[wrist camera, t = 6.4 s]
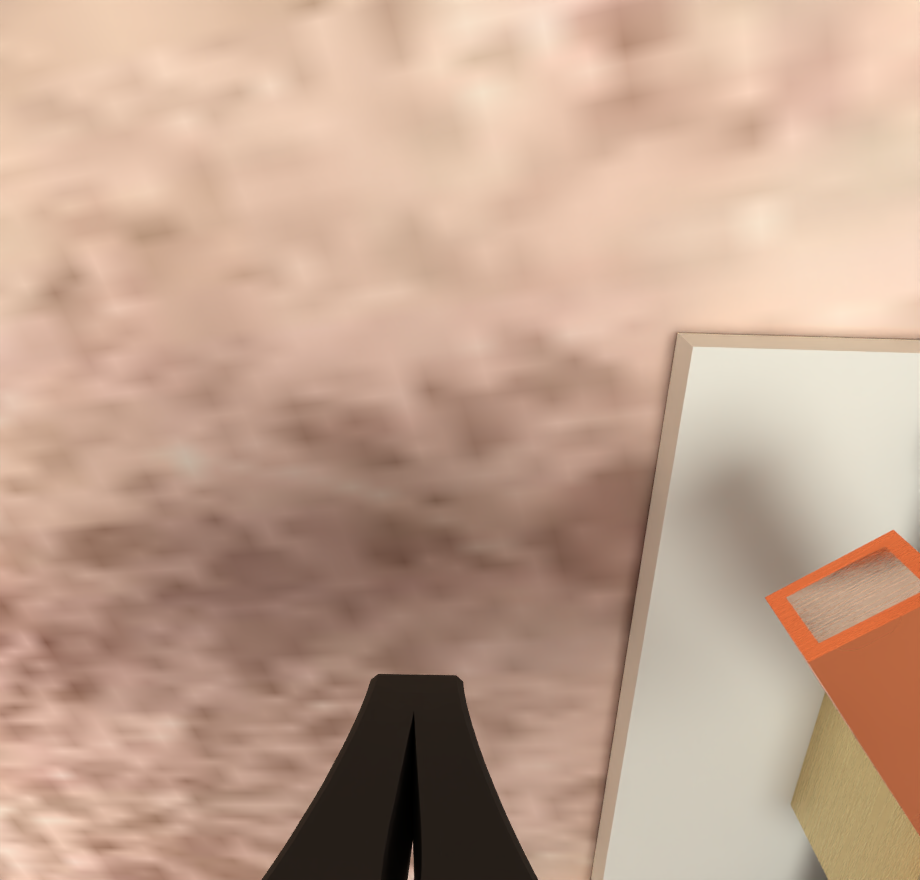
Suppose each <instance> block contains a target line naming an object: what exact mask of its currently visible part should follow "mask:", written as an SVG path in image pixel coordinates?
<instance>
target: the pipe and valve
mask: <svg viewBox="0 0 920 880" xmlns="http://www.w3.org/2000/svg"><path fill="white" fill-rule="evenodd" d="M791 807H792V809H793V811H794V813H795V815H796V817H797V819H798V821H799V823H800V825H801V827H802V829H803V831H804V833H805V835H806V837H807V838H808V840H809V842H810V844H811V846H812V848H813V850H814V852H815V854H816V856H817V858H818V860H819V862H820V864H821V866H822V868H823V870H824V872H825V874H826V876H827V878H828V880H920V836H919V835H918V833H917V832H916V830H915V829H914V827H913V826H912V824H911V823H910V821H909V820H908V818H907V817H906V815H905V813H904V812H903V810H902V809H901V807H900V806H899V804H898V803H897V801H896V800H895V798H894V797H893V795H892V794H891V792H890V791H889V789H888V788H887V786H886V785H885V783H884V782H883V780H882V779H881V777H880V776H879V774H878V773H877V771H876V770H875V768H874V767H873V765H872V763H871V762H870V760H869V759H868V757H867V756H866V754H865V753H864V751H863V749H862V748H861V746H860V745H859V743H858V742H857V740H856V739H855V737H854V736H853V734H852V732H851V731H850V729H849V728H848V726H847V725H846V723H845V722H844V720H843V718H842V717H841V715H840V714H839V712H838V711H837V709H836V708H835V706H834V704H833V703H832V701H831V700H830V698H829V697H828V695H827V694H826V692H825V694H824V697H823V700H822V704H821V707H820V710H819V713H818V717H817V720H816V723H815V726H814V730H813V733H812V736H811V739H810V743H809V746H808V749H807V753H806V756H805V759H804V762H803V766H802V769H801V772H800V775H799V779H798V782H797V785H796V788H795V792H794V795H793V798H792V801H791Z"/></svg>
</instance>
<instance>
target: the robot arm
mask: <svg viewBox="0 0 920 880" xmlns="http://www.w3.org/2000/svg"><path fill="white" fill-rule="evenodd" d="M412 842H413V855H414V880H538V879H537V877H536V875H535V873H534V871H533V869H532V867H531V865H530V863H529V861H528V859H527V857H526V855H525V853H524V851H523V849H522V847H521V845H520V843H519V841H518V839H517V837H516V835H515V832H514V830H513V828H512V826H511V824H510V822H509V820H508V817H507V815H506V813H505V811H504V808H503V806H502V804H501V802H500V799H499V797H498V794H497V792H496V789H495V787H494V784H493V782H492V779H491V777H490V774H489V772H488V769H487V767H486V764H485V762H484V759H483V756H482V753H481V751H480V748H479V745H478V742H477V739H476V736H475V732H474V729H473V726H472V723H471V719H470V716H469V712H468V708H467V703H466V698H465V693H464V687H463V681H462V680H461V679H460V678H458V677H457V676H455V675H399V674H378V675H376V676H375V677H374V678H373V679H371V681H370V684H369V688H368V691H367V693H366V696H365V699H364V701H363V704H362V706H361V709H360V711H359V713H358V716H357V718H356V720H355V722H354V724H353V727H352V729H351V731H350V733H349V735H348V737H347V739H346V741H345V743H344V745H343V747H342V749H341V751H340V753H339V755H338V756H337V758H336V760H335V762H334V764H333V766H332V768H331V769H330V771H329V773H328V775H327V777H326V779H325V781H324V782H323V784H322V786H321V788H320V790H319V791H318V793H317V795H316V796H315V798H314V800H313V801H312V803H311V804H310V806H309V808H308V809H307V811H306V813H305V814H304V816H303V817H302V819H301V821H300V822H299V824H298V826H297V827H296V829H295V830H294V832H293V834H292V835H291V837H290V838H289V840H288V842H287V843H286V845H285V846H284V848H283V849H282V851H281V852H280V854H279V855H278V857H277V858H276V860H275V861H274V863H273V864H272V866H271V867H270V868H269V870H268V871H267V873H266V874H265V876H264V877H263V878H262V880H407V879H408V872H409V865H410V857H411V850H412Z"/></svg>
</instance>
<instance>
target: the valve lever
mask: <svg viewBox="0 0 920 880" xmlns="http://www.w3.org/2000/svg"><path fill="white" fill-rule="evenodd" d="M765 599H766V600H767V602H768V604H769V605H770V607H771V608H772V610H773V611H774V613H775V614H776V616H777V617H778V619H779V621H780V622H781V624H782V625H783V627H784V628H785V630H786V631H787V633H788V635H789V636H790V638H791V639H792V641H793V642H794V644H795V645H796V647H797V649H798V650H799V652H800V653H801V655H802V656H803V658H804V659H805V661H806V663H807V664H808V666H809V667H810V669H811V670H812V672H813V673H814V675H815V677H816V678H817V680H818V681H819V683H820V684H821V686H822V687H823V689H824V690H825V692H826V694H827V695H828V697H829V698H830V700H831V701H832V703H833V704H834V706H835V708H836V709H837V711H838V712H839V714H840V715H841V717H842V718H843V720H844V722H845V723H846V725H847V726H848V728H849V729H850V731H851V732H852V734H853V736H854V737H855V739H856V740H857V742H858V743H859V745H860V746H861V748H862V749H863V751H864V753H865V754H866V756H867V757H868V759H869V760H870V762H871V763H872V765H873V767H874V768H875V770H876V771H877V773H878V774H879V776H880V777H881V779H882V780H883V782H884V783H885V785H886V786H887V788H888V789H889V791H890V792H891V794H892V795H893V797H894V798H895V800H896V801H897V803H898V804H899V806H900V807H901V809H902V810H903V812H904V813H905V815H906V817H907V818H908V820H909V821H910V823H911V824H912V826H913V827H914V829H915V830H916V832H917V833H918V835H919V836H920V553H919V552H918V551H917V550H916V549H914V548H913V547H912V546H911V545H910V544H909V543H908V542H907V541H906V540H904V539H903V538H902V537H901V536H900V535H899V534H898V533H897V532H896V531H894V530H891V531H890V532H888V533H886V534H884V535H882V536H880V537H878V538H876V539H874V540H873V541H871V542H869V543H867V544H865V545H863V546H861V547H859V548H857V549H855V550H854V551H852V552H850V553H848V554H846V555H844V556H842V557H840V558H838V559H837V560H835V561H833V562H831V563H829V564H827V565H825V566H823V567H821V568H820V569H818V570H816V571H814V572H812V573H810V574H808V575H806V576H804V577H802V578H801V579H799V580H797V581H795V582H793V583H791V584H789V585H787V586H785V587H784V588H782V589H780V590H778V591H776V592H774V593H772V594H770V595H768V596H767V597H765Z"/></svg>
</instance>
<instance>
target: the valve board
mask: <svg viewBox="0 0 920 880" xmlns="http://www.w3.org/2000/svg"><path fill="white" fill-rule="evenodd" d="M891 530H894V531H896V532H897V533H898V534H899V535H900V536H901V537H902V538H903V539H904V540H906V541H907V542H908V543H909V544H910V545H911V546H912V547H913V548H914V549H916V550H917V551H918V552H919V553H920V340H908V339H873V338H839V337H805V336H770V335H736V334H702V333H677V339H676V346H675V352H674V358H673V365H672V371H671V377H670V383H669V390H668V396H667V402H666V409H665V415H664V421H663V428H662V434H661V440H660V447H659V453H658V459H657V465H656V472H655V478H654V484H653V491H652V497H651V503H650V510H649V516H648V522H647V528H646V535H645V541H644V547H643V554H642V560H641V566H640V573H639V579H638V585H637V592H636V598H635V604H634V610H633V617H632V623H631V629H630V636H629V642H628V648H627V655H626V661H625V667H624V673H623V680H622V686H621V692H620V699H619V705H618V711H617V718H616V724H615V730H614V737H613V743H612V749H611V755H610V762H609V768H608V774H607V781H606V787H605V793H604V800H603V806H602V812H601V818H600V825H599V831H598V837H597V844H596V850H595V856H594V863H593V869H592V875H591V880H828V878H827V876H826V874H825V872H824V870H823V868H822V866H821V864H820V862H819V860H818V858H817V856H816V854H815V852H814V850H813V848H812V846H811V844H810V842H809V840H808V838H807V837H806V835H805V833H804V831H803V829H802V827H801V825H800V823H799V821H798V819H797V817H796V815H795V813H794V811H793V809H792V807H791V801H792V798H793V795H794V792H795V788H796V785H797V782H798V779H799V775H800V772H801V769H802V766H803V762H804V759H805V756H806V753H807V749H808V746H809V743H810V739H811V736H812V733H813V730H814V726H815V723H816V720H817V717H818V713H819V710H820V707H821V704H822V700H823V697H824V694H825V690H824V689H823V687H822V686H821V684H820V683H819V681H818V680H817V678H816V677H815V675H814V673H813V672H812V670H811V669H810V667H809V666H808V664H807V663H806V661H805V659H804V658H803V656H802V655H801V653H800V652H799V650H798V649H797V647H796V645H795V644H794V642H793V641H792V639H791V638H790V636H789V635H788V633H787V631H786V630H785V628H784V627H783V625H782V624H781V622H780V621H779V619H778V617H777V616H776V614H775V613H774V611H773V610H772V608H771V607H770V605H769V604H768V602H767V600H766V599H765V597H767V596H768V595H770V594H772V593H774V592H776V591H778V590H780V589H782V588H784V587H785V586H787V585H789V584H791V583H793V582H795V581H797V580H799V579H801V578H802V577H804V576H806V575H808V574H810V573H812V572H814V571H816V570H818V569H820V568H821V567H823V566H825V565H827V564H829V563H831V562H833V561H835V560H837V559H838V558H840V557H842V556H844V555H846V554H848V553H850V552H852V551H854V550H855V549H857V548H859V547H861V546H863V545H865V544H867V543H869V542H871V541H873V540H874V539H876V538H878V537H880V536H882V535H884V534H886V533H888V532H890V531H891Z"/></svg>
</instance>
